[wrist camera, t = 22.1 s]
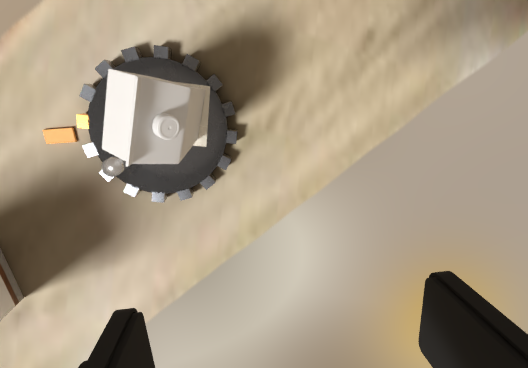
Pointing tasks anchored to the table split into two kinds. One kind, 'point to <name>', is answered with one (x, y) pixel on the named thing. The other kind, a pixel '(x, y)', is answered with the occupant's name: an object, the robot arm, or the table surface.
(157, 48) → the sprocket
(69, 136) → the block
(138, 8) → the table surface
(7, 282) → the banded white pillar
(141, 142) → the milk carton
